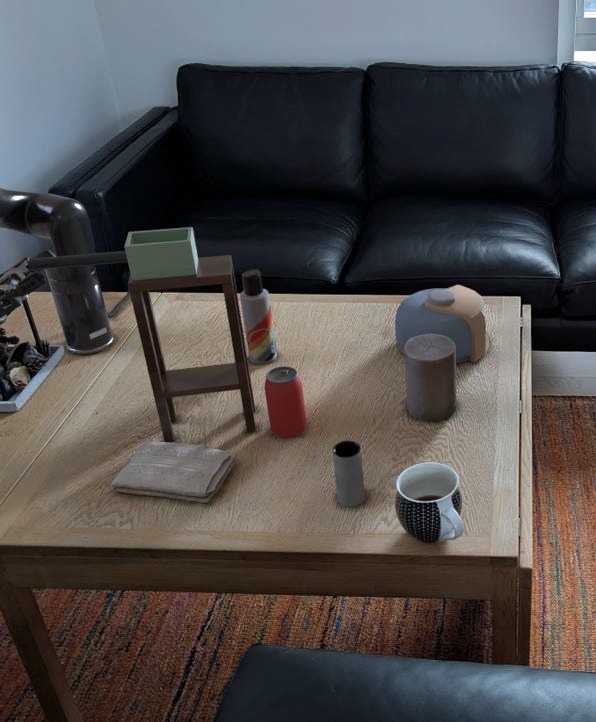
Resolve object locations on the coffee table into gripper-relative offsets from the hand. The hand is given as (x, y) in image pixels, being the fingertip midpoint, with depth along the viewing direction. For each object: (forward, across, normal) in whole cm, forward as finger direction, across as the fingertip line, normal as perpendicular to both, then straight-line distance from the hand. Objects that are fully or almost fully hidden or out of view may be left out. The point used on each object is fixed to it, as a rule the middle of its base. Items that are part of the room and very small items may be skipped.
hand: (47, 264), depth 132 cm
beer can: (+12, -4, +47) cm, 49 cm away
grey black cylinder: (+20, -26, +52) cm, 61 cm away
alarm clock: (+42, +19, +64) cm, 79 cm away
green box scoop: (+7, 0, +7) cm, 10 cm away
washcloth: (-5, -14, +38) cm, 41 cm away
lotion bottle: (+9, +22, +45) cm, 51 cm away
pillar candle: (+35, -4, +61) cm, 70 cm away
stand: (0, 0, +40) cm, 40 cm away
